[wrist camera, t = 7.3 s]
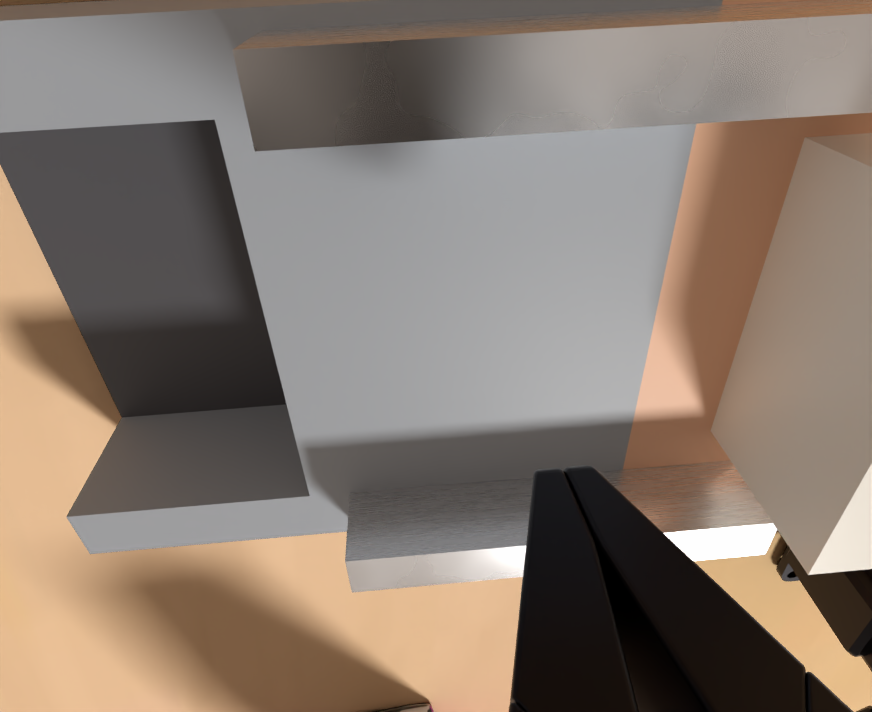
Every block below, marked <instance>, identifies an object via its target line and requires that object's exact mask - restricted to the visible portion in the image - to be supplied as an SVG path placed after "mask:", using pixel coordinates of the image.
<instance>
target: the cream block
mask: <svg viewBox="0 0 872 712" xmlns="http://www.w3.org/2000/svg"><path fill="white" fill-rule="evenodd" d="M711 432H712V434H713V435H714V437H715V438H716V440H717V441H718V443H719V444H720V446H721V447H722V449H723V450H724V452H725V453H726V455H727V456H728V458H729V459H730V460H731V462H732V463H733V465H734V466H735V468H736V469H737V471H738V472H739V474H740V475H741V477H742V478H743V480H744V481H745V483H746V484H747V486H748V487H749V488H750V490H751V491H752V493H753V494H754V496H755V497H756V499H757V500H758V502H759V503H760V505H761V506H762V508H763V509H764V511H765V512H766V514H767V515H768V517H769V518H770V519H771V521H772V522H773V524H774V525H775V527H776V528H777V530H778V531H779V533H780V534H781V536H782V537H783V539H784V540H785V542H786V543H787V545H788V546H789V547H790V549H791V550H792V552H793V553H794V555H795V556H796V558H797V559H798V561H799V562H800V564H801V565H802V567H803V568H804V570H805V571H806V573H807V574H808V575H813V574H824V573H834V572H845V571H856V570H866V569H872V133H863V134H848V135H832V136H817V137H805V138H804V141H803V144H802V148H801V151H800V154H799V157H798V160H797V163H796V166H795V169H794V172H793V176H792V179H791V182H790V185H789V188H788V191H787V194H786V197H785V200H784V204H783V207H782V210H781V213H780V216H779V219H778V222H777V225H776V228H775V232H774V235H773V238H772V241H771V244H770V247H769V250H768V253H767V256H766V260H765V263H764V266H763V269H762V272H761V275H760V278H759V281H758V284H757V288H756V291H755V294H754V297H753V300H752V303H751V306H750V309H749V312H748V316H747V319H746V322H745V325H744V328H743V331H742V334H741V337H740V340H739V344H738V347H737V350H736V353H735V356H734V359H733V362H732V365H731V368H730V372H729V375H728V378H727V381H726V384H725V387H724V390H723V393H722V396H721V400H720V403H719V406H718V409H717V412H716V415H715V418H714V421H713V424H712V428H711Z"/></svg>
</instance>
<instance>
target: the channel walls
mask: <svg viewBox="0 0 872 712" xmlns="http://www.w3.org/2000/svg"><path fill="white" fill-rule="evenodd" d="M232 51H233V55H234V60H235V64H236V69H237V73H238V78H239V82H240V87H241V91H242V96H243V100H244V105H245V109H246V114H247V119H248V123H249V128H250V132H251V137H252V141H253V146H254V150H255V152H256V151H272V150H288V149H303V148H319V147H335V146H351V145H367V144H383V143H398V142H414V141H430V140H446V139H462V138H478V137H493V136H509V135H525V134H541V133H557V132H573V131H588V130H604V129H620V128H636V127H652V126H668V125H683V124H699V123H715V122H731V121H747V120H763V119H778V118H794V117H810V116H826V115H842V114H858V113H872V0H802V1H784V2H766V3H748V4H730V5H712V6H694V7H676V8H658V9H640V10H622V11H604V12H586V13H568V14H550V15H532V16H514V17H496V18H477V19H459V20H441V21H423V22H405V23H387V24H369V25H351V26H333V27H315V28H297V29H279V30H261V31H260V32H258V33H257V34H255V35H254V36H252V37H251V38H249V39H248V40H246V41H245V42H243V43H242V44H240V45H239V46H237V47H236V48H234V49H233V50H232ZM598 472H599V473H601V474H602V475H603V476H604V477H605V478H606V479H607V480H608V481H609V482H610V483H611V484H612V485H613V486H614V487H615V488H616V489H617V490H619V491H620V492H621V493H622V494H623V495H624V496H625V497H626V498H627V499H628V500H629V501H630V502H631V503H632V504H633V505H634V506H635V507H637V508H638V509H639V510H640V511H641V512H642V513H643V514H644V515H645V516H646V517H647V518H648V519H649V520H650V521H651V522H652V523H653V524H654V525H656V526H657V527H658V528H659V529H660V530H661V531H662V532H663V533H664V534H665V535H666V536H667V537H668V538H669V539H670V540H671V541H672V542H674V543H675V544H676V545H677V546H678V547H679V548H680V549H681V550H682V551H683V552H684V553H685V554H686V555H687V556H688V557H689V558H690V559H692V560H693V561H700V560H710V559H721V558H732V557H743V556H754V555H765V554H766V552H767V550H768V548H769V546H770V544H771V542H772V539H773V537H774V535H775V533H776V531H777V528H776V527H775V525H774V524H773V522H772V521H771V519H770V518H769V517H768V515H767V514H766V512H765V511H764V509H763V508H762V506H761V505H760V503H759V502H758V500H757V499H756V497H755V496H754V494H753V493H752V491H751V490H750V488H749V487H748V486H747V484H746V483H745V481H744V480H743V478H742V477H741V475H740V474H739V472H738V471H737V469H736V468H735V466H734V465H733V463H732V462H731V460H727V461H715V462H704V463H692V464H680V465H668V466H657V467H645V468H633V469H622V470H610V471H598ZM532 484H533V477H528V478H516V479H505V480H493V481H481V482H470V483H458V484H446V485H434V486H423V487H411V488H399V489H388V490H376V491H364V492H352V493H350V494H349V510H348V526H347V542H346V558H345V563H346V567H347V572H348V576H349V581H350V585H351V590H352V592H362V591H373V590H384V589H395V588H406V587H417V586H427V585H438V584H449V583H460V582H471V581H482V580H493V579H504V578H514V577H523V571H524V562H525V552H526V542H527V532H528V523H529V513H530V503H531V493H532Z"/></svg>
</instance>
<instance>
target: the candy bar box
mask: <svg viewBox="0 0 872 712" xmlns="http://www.w3.org/2000/svg"><path fill="white" fill-rule="evenodd" d="M378 712H433V709H432V707H431V705H430V704H415V705H407V706H402V707H399V708H393V709H388V710H383V711H378Z"/></svg>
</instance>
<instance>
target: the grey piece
mask: <svg viewBox="0 0 872 712" xmlns="http://www.w3.org/2000/svg"><path fill="white" fill-rule="evenodd" d="M784 1H802V0H105V1H86V2H67V3H49V4H30V5H11V6H0V165H1V167H2V169H3V171H4V173H5V175H6V177H7V179H8V181H9V184H10V186H11V188H12V190H13V192H14V194H15V196H16V198H17V200H18V202H19V204H20V206H21V209H22V211H23V213H24V215H25V217H26V219H27V221H28V223H29V225H30V227H31V229H32V231H33V234H34V236H35V238H36V240H37V242H38V244H39V246H40V248H41V250H42V252H43V254H44V256H45V259H46V261H47V263H48V265H49V267H50V269H51V271H52V273H53V275H54V277H55V279H56V281H57V284H58V286H59V288H60V290H61V292H62V294H63V296H64V298H65V300H66V302H67V304H68V306H69V309H70V311H71V313H72V315H73V317H74V319H75V321H76V323H77V325H78V327H79V329H80V331H81V334H82V336H83V338H84V340H85V342H86V344H87V346H88V348H89V350H90V352H91V354H92V356H93V359H94V361H95V363H96V365H97V367H98V369H99V371H100V373H101V375H102V377H103V379H104V381H105V384H106V386H107V388H108V390H109V392H110V394H111V396H112V398H113V400H114V402H115V404H116V406H117V409H118V411H119V413H120V415H121V417H122V418H121V420H120V422H119V424H118V425H117V427H116V429H115V431H114V433H113V434H112V436H111V438H110V440H109V441H108V443H107V445H106V447H105V449H104V450H103V452H102V454H101V456H100V458H99V459H98V461H97V463H96V465H95V467H94V468H93V470H92V472H91V474H90V476H89V477H88V479H87V481H86V483H85V485H84V486H83V488H82V490H81V492H80V493H79V495H78V497H77V499H76V501H75V502H74V504H73V506H72V508H71V510H70V511H69V513H68V515H67V519H68V520H69V522H70V523H71V525H72V526H73V528H74V530H75V531H76V533H77V534H78V536H79V537H80V539H81V540H82V542H83V544H84V545H85V547H86V548H87V550H88V551H89V553H90V554H96V553H107V552H118V551H130V550H141V549H153V548H164V547H175V546H187V545H198V544H209V543H221V542H232V541H244V540H255V539H266V538H278V537H289V536H300V535H312V534H323V533H335V532H346V531H347V526H348V510H349V494H350V493H352V492H364V491H376V490H388V489H399V488H411V487H423V486H434V485H446V484H458V483H470V482H481V481H493V480H505V479H516V478H528V477H533V474H534V472H535V471H536V470H539V469H550V468H560V469H562V470H563V469H564V468H566V467H573V466H584V465H589V466H592V467H594V468H595V469H596V470H597V471H610V470H622V469H633V468H645V467H657V466H668V465H680V464H692V463H704V462H715V461H727V460H730V459H729V458H728V456H727V455H726V453H725V452H724V450H723V449H722V447H721V446H720V444H719V443H718V441H717V440H716V438H715V437H714V435H713V434H712V432H711V428H712V424H713V421H714V418H715V415H716V412H717V409H718V406H719V403H720V400H721V396H722V393H723V390H724V387H725V384H726V381H727V378H728V375H729V372H730V368H731V365H732V362H733V359H734V356H735V353H736V350H737V347H738V344H739V340H740V337H741V334H742V331H743V328H744V325H745V322H746V319H747V316H748V312H749V309H750V306H751V303H752V300H753V297H754V294H755V291H756V288H757V284H758V281H759V278H760V275H761V272H762V269H763V266H764V263H765V260H766V256H767V253H768V250H769V247H770V244H771V241H772V238H773V235H774V232H775V228H776V225H777V222H778V219H779V216H780V213H781V210H782V207H783V204H784V200H785V197H786V194H787V191H788V188H789V185H790V182H791V179H792V176H793V172H794V169H795V166H796V163H797V160H798V157H799V154H800V151H801V148H802V144H803V141H804V138H805V137H817V136H832V135H848V134H863V133H872V113H858V114H842V115H826V116H810V117H794V118H778V119H763V120H747V121H731V122H715V123H699V124H683V125H668V126H652V127H636V128H620V129H604V130H588V131H573V132H557V133H541V134H525V135H509V136H493V137H478V138H462V139H446V140H430V141H414V142H398V143H383V144H367V145H351V146H335V147H319V148H303V149H288V150H272V151H256V152H255V150H254V146H253V141H252V137H251V132H250V128H249V123H248V119H247V114H246V109H245V105H244V100H243V96H242V91H241V87H240V82H239V78H238V73H237V69H236V64H235V60H234V55H233V51H232V50H233V49H234V48H236V47H237V46H239V45H240V44H242V43H243V42H245V41H246V40H248V39H249V38H251V37H252V36H254V35H255V34H257V33H258V32H260V31H261V30H279V29H297V28H315V27H333V26H351V25H369V24H387V23H405V22H423V21H441V20H459V19H477V18H496V17H514V16H532V15H550V14H568V13H586V12H604V11H622V10H640V9H658V8H676V7H694V6H712V5H730V4H748V3H766V2H784Z"/></svg>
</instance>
